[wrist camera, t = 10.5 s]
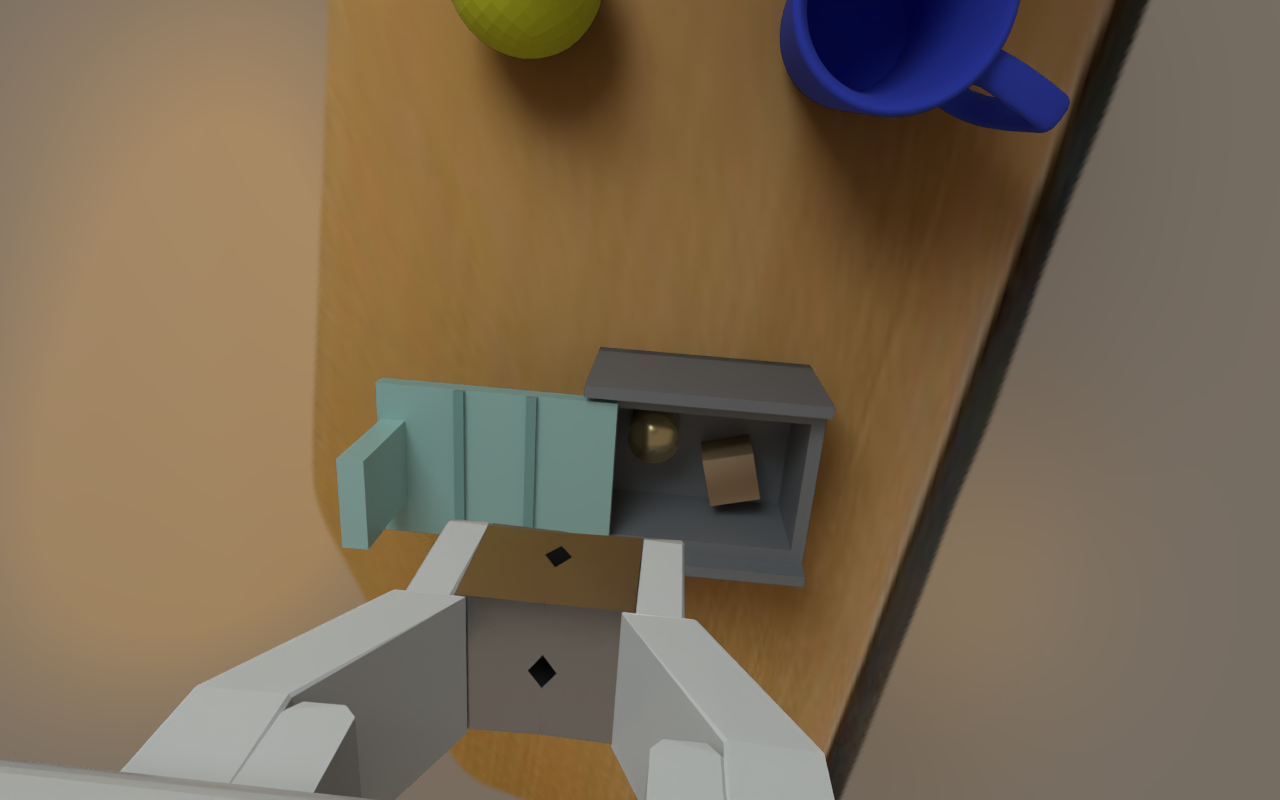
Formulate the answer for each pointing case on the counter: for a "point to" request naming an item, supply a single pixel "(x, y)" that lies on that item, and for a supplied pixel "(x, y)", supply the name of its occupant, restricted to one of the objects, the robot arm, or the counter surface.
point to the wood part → (730, 470)
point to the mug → (917, 61)
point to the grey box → (676, 488)
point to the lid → (478, 461)
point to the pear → (528, 24)
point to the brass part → (653, 435)
